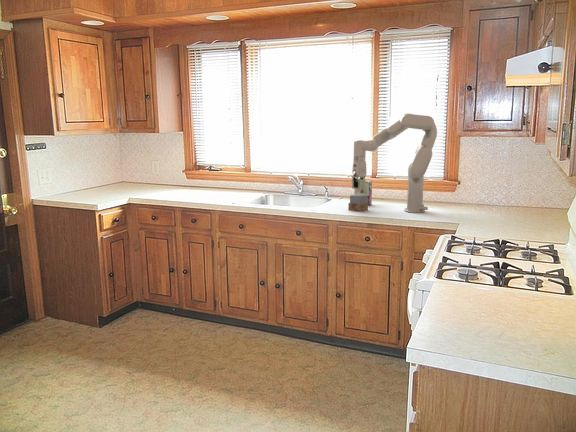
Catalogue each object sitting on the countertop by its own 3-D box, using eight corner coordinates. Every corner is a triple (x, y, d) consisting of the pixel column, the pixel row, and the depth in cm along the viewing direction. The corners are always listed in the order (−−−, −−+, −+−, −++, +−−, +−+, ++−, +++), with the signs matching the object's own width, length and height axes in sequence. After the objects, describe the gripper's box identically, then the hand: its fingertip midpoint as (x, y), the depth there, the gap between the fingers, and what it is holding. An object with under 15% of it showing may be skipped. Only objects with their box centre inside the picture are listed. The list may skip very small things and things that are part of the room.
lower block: (367, 210, 329) (367, 202, 328) (360, 212, 323) (360, 204, 322) (356, 208, 335) (356, 201, 334) (348, 210, 328) (348, 203, 327)
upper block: (367, 202, 328) (367, 195, 327) (359, 204, 322) (359, 196, 321) (357, 201, 333) (357, 193, 332) (349, 202, 328) (350, 195, 327)
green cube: (365, 188, 327) (365, 179, 325) (359, 189, 322) (360, 180, 321) (357, 187, 331) (357, 178, 329) (352, 188, 326) (352, 179, 325)
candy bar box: (371, 204, 348) (372, 181, 345) (369, 205, 344) (370, 181, 341) (356, 203, 354) (356, 180, 350) (353, 204, 349) (354, 180, 346)
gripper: (356, 160, 314) (355, 188, 317) (371, 158, 327) (370, 186, 330) (346, 159, 319) (346, 187, 322) (362, 157, 331) (361, 185, 335)
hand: (358, 186), depth 326 cm, fingers closed on green cube, 6 cm apart
